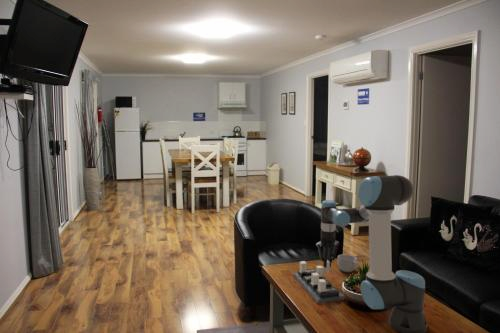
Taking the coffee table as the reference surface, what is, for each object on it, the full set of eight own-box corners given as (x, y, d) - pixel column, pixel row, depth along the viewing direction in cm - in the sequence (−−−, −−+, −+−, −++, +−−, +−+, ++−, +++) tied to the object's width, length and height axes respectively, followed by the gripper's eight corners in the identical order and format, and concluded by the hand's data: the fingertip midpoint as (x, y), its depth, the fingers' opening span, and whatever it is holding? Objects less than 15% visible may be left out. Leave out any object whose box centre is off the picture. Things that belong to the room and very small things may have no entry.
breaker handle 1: (306, 272, 216) (306, 263, 215) (301, 272, 215) (301, 263, 214) (304, 269, 219) (304, 261, 218) (299, 270, 218) (299, 261, 218)
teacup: (333, 267, 233) (334, 254, 232) (350, 265, 236) (350, 252, 235) (346, 277, 220) (346, 263, 218) (363, 274, 223) (364, 261, 222)
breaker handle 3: (323, 276, 210) (323, 267, 209) (318, 277, 209) (318, 268, 208) (320, 274, 213) (320, 265, 212) (315, 274, 212) (316, 265, 211)
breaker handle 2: (318, 284, 201) (319, 275, 200) (313, 285, 200) (314, 275, 199) (316, 281, 204) (316, 272, 203) (311, 282, 203) (311, 273, 202)
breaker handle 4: (325, 291, 193) (326, 281, 192) (320, 292, 192) (320, 282, 191) (323, 288, 196) (323, 278, 195) (317, 289, 195) (318, 279, 195)
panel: (344, 299, 193) (344, 291, 193) (317, 303, 190) (317, 295, 189) (316, 273, 224) (316, 266, 223) (293, 276, 220) (293, 269, 220)
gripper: (336, 227, 214) (335, 269, 217) (313, 228, 211) (312, 271, 214) (342, 231, 207) (341, 274, 210) (319, 233, 203) (318, 277, 207)
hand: (326, 272), depth 212 cm, fingers closed
